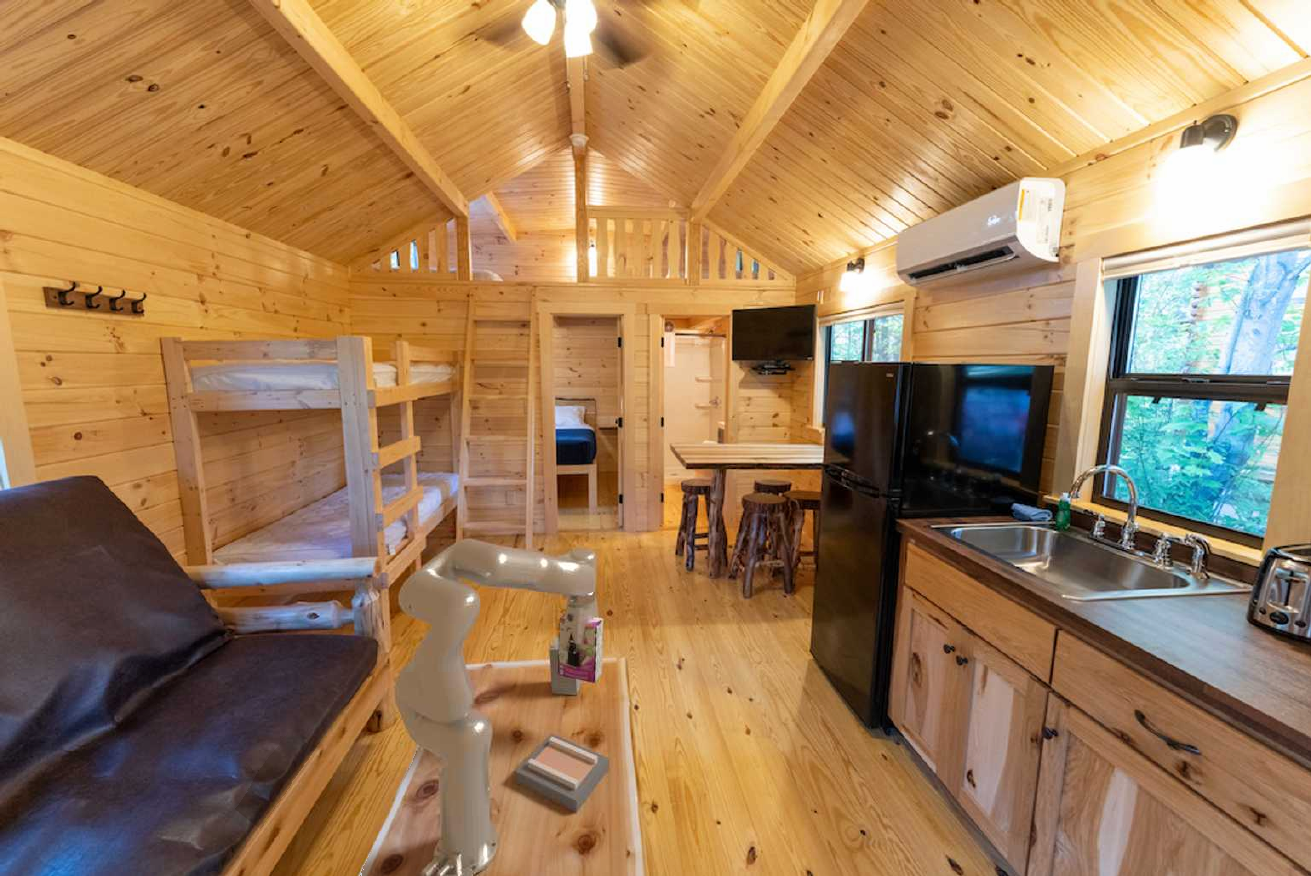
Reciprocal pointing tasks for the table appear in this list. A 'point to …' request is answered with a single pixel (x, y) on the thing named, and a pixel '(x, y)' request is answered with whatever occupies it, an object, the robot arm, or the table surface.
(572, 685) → the skincare box
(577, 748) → the display plinth
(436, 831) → the table surface
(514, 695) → the table surface
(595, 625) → the candy bar box
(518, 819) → the table surface
